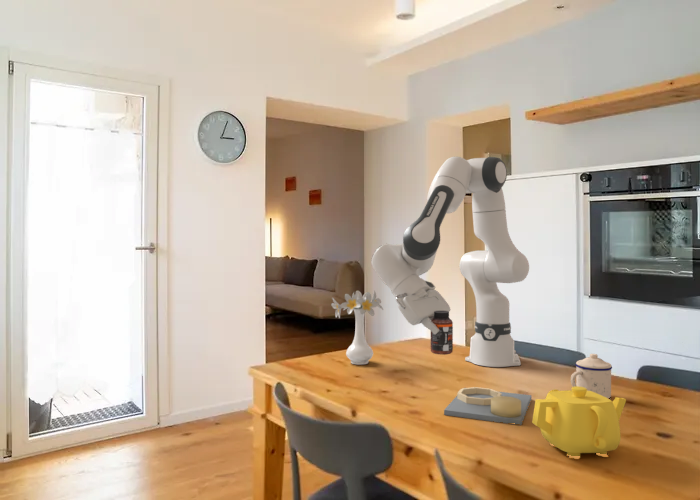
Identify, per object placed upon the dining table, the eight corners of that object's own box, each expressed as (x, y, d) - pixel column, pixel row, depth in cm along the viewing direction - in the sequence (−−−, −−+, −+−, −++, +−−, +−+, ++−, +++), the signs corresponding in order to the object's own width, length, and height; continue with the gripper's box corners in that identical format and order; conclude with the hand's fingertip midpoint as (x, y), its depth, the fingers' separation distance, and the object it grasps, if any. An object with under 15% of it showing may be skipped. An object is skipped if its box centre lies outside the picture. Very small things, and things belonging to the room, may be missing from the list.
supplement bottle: (452, 355, 143) (452, 313, 143) (429, 354, 145) (429, 312, 144) (453, 350, 149) (452, 309, 149) (431, 349, 150) (431, 309, 150)
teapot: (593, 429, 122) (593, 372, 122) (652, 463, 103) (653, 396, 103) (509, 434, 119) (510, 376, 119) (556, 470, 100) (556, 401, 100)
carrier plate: (464, 391, 152) (464, 376, 152) (531, 399, 144) (531, 384, 144) (444, 414, 132) (444, 397, 132) (521, 425, 124) (521, 407, 124)
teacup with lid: (593, 390, 153) (594, 349, 153) (619, 399, 144) (620, 356, 144) (559, 395, 149) (559, 352, 149) (584, 404, 140) (584, 359, 140)
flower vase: (326, 362, 188) (326, 290, 187) (370, 357, 197) (371, 288, 197) (344, 370, 177) (344, 294, 176) (391, 364, 186) (391, 291, 185)
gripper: (400, 287, 142) (434, 328, 136) (435, 282, 159) (466, 318, 153) (385, 303, 144) (418, 344, 139) (421, 296, 161) (451, 332, 156)
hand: (443, 330), depth 146 cm, fingers closed on supplement bottle, 6 cm apart
